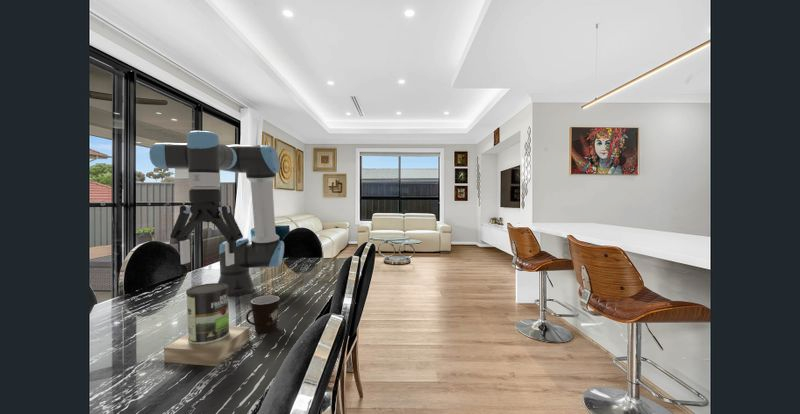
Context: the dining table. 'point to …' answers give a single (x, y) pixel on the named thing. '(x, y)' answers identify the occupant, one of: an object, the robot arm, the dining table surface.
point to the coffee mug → (264, 313)
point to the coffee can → (207, 313)
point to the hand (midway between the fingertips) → (207, 264)
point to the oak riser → (206, 349)
